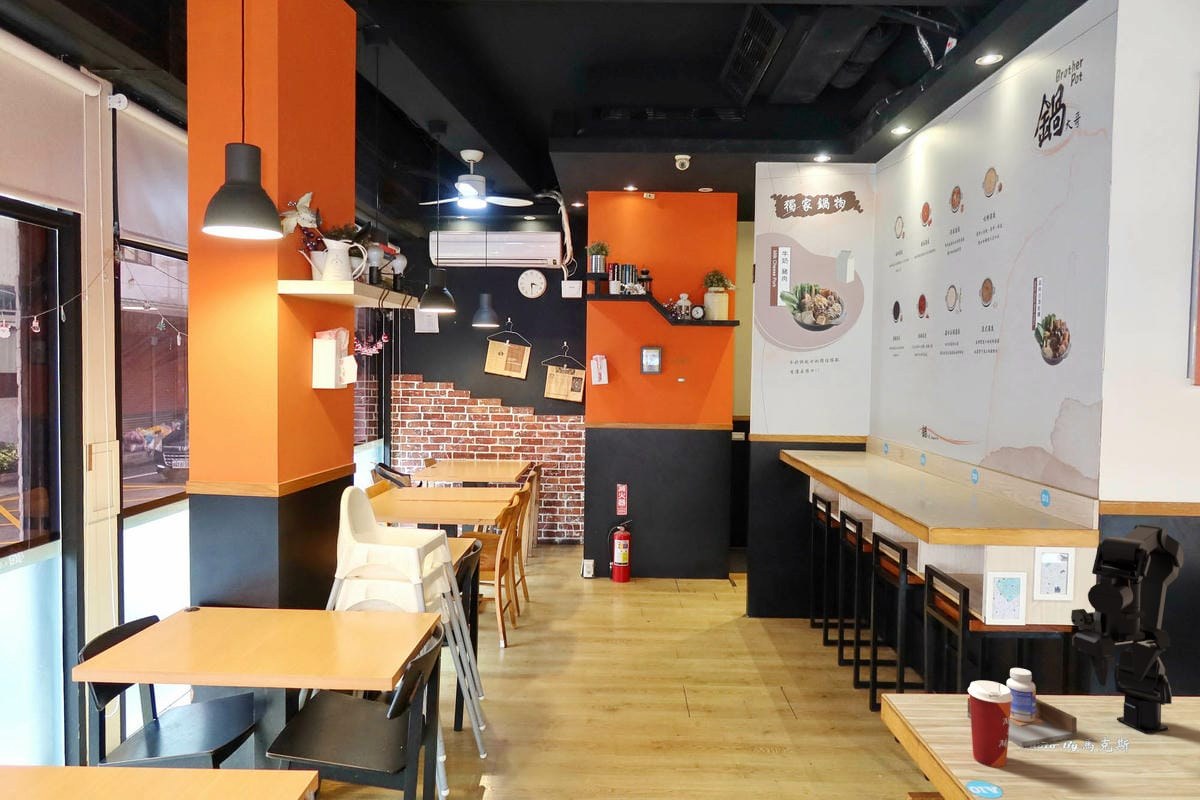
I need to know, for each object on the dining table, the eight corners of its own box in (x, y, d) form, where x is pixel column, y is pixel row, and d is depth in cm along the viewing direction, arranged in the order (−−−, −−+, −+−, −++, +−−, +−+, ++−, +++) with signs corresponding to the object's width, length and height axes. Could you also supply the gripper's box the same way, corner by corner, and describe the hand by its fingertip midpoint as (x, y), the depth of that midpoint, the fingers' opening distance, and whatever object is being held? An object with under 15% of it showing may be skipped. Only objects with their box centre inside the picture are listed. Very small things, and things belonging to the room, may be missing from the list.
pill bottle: (1038, 724, 154) (1039, 677, 153) (1009, 720, 155) (1010, 674, 155) (1031, 713, 159) (1032, 667, 159) (1003, 709, 160) (1003, 665, 160)
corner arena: (1019, 708, 164) (1019, 690, 164) (1076, 737, 150) (1076, 717, 150) (967, 716, 160) (967, 698, 160) (1021, 747, 146) (1022, 727, 146)
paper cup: (1018, 772, 137) (1019, 697, 137) (973, 768, 138) (974, 693, 138) (1004, 751, 145) (1005, 680, 144) (961, 747, 146) (962, 677, 146)
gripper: (1118, 589, 156) (1116, 662, 156) (1048, 596, 150) (1047, 673, 151) (1172, 604, 145) (1171, 683, 145) (1100, 612, 140) (1099, 694, 140)
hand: (1120, 682), depth 146 cm, fingers open, 9 cm apart
